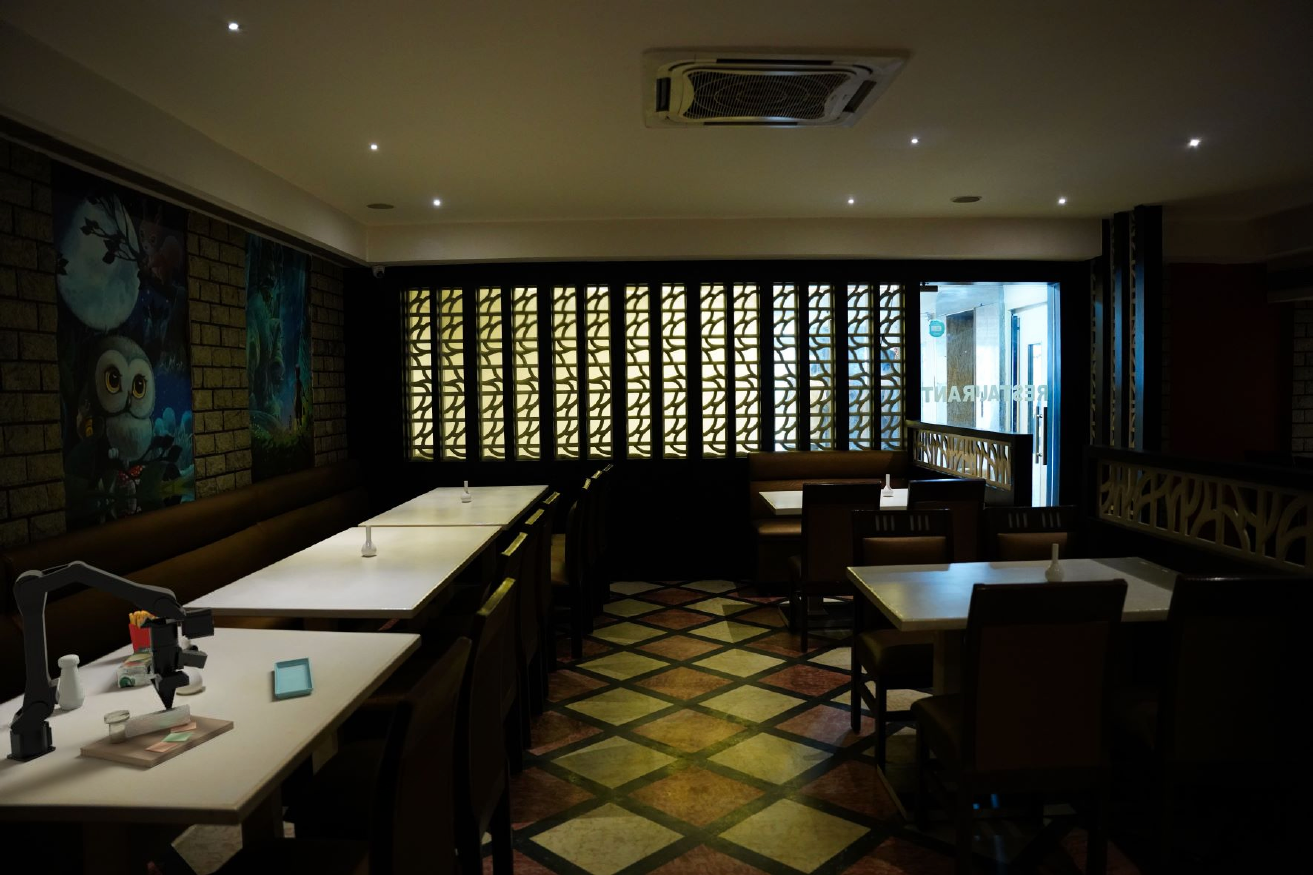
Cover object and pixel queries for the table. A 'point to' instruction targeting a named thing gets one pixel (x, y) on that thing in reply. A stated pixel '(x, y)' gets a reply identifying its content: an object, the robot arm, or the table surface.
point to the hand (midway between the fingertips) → (168, 708)
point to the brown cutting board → (158, 742)
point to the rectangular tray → (293, 678)
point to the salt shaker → (70, 683)
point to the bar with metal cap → (144, 722)
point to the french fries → (139, 630)
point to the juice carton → (135, 669)
